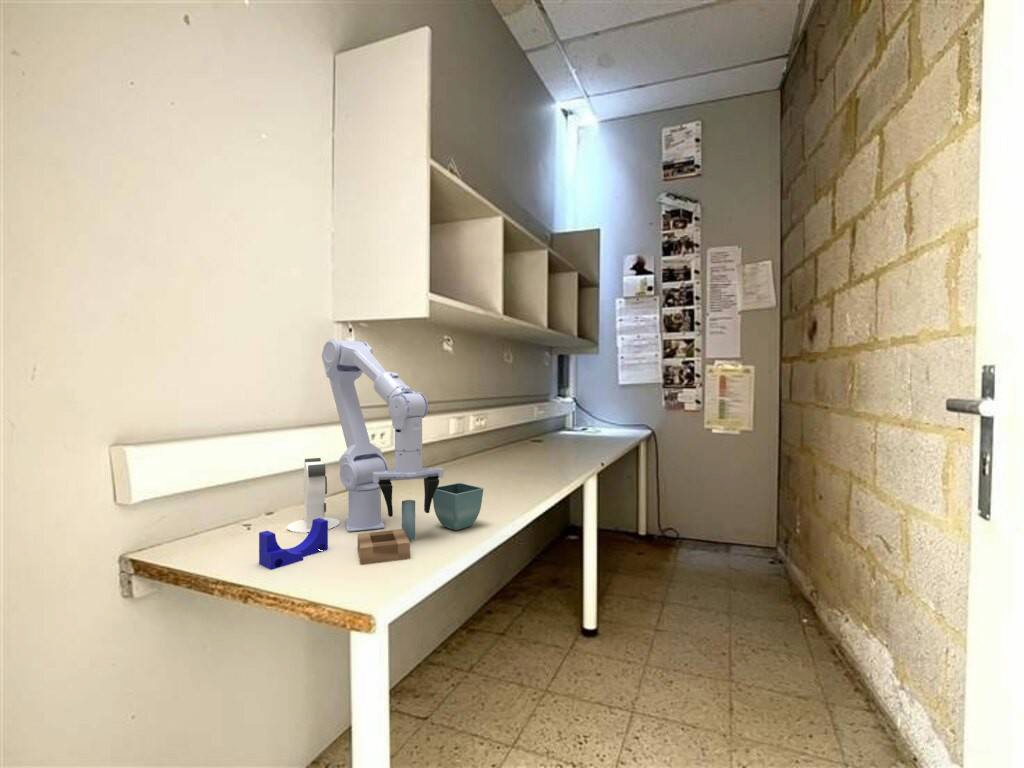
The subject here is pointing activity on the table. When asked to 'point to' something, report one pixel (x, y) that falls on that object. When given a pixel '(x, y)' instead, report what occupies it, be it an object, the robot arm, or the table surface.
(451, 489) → the flower pot
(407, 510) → the blue-gray dowel
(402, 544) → the open cardboard frame
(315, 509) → the white tower device
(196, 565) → the table surface
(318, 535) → the blue cradle bracket
